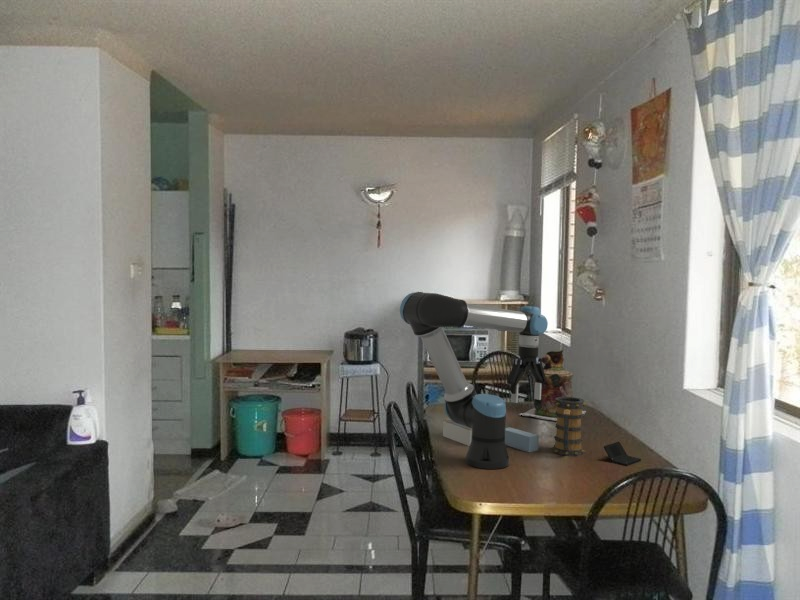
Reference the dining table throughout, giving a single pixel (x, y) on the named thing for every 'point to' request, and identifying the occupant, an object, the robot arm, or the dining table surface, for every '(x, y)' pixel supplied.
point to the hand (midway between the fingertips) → (526, 400)
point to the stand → (457, 432)
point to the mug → (568, 426)
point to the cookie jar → (552, 387)
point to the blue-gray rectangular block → (521, 439)
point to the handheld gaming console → (619, 455)
